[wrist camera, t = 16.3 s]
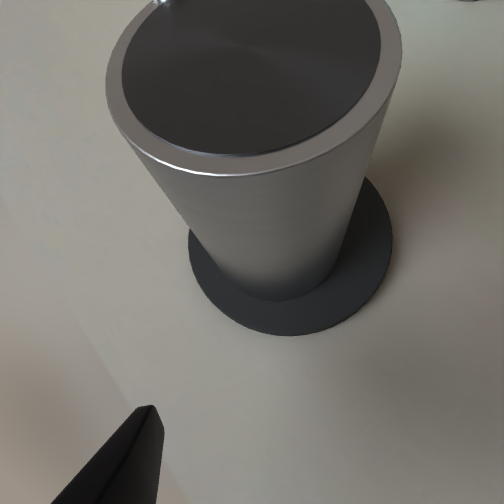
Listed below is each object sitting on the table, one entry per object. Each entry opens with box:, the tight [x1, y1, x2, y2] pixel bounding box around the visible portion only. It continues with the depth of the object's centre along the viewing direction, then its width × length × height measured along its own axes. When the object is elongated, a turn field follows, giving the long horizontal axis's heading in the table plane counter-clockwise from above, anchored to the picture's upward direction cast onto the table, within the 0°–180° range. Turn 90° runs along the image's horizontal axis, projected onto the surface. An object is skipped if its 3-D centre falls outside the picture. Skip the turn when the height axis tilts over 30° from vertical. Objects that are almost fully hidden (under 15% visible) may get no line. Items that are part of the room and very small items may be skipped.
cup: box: [106, 0, 402, 302], centre depth 11 cm, size 9×6×10 cm
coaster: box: [188, 177, 393, 336], centre depth 16 cm, size 10×10×1 cm
